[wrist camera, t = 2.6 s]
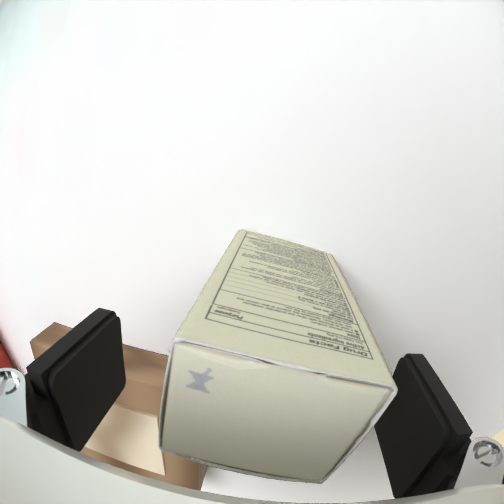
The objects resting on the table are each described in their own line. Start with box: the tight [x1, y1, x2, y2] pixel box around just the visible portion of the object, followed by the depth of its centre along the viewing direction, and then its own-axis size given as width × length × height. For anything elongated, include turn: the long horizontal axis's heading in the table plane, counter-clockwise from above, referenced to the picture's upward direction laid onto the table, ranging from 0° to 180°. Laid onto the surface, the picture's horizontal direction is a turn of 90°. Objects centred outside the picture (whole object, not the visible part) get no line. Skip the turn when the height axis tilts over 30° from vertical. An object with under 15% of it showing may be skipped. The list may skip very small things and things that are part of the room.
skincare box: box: [158, 230, 398, 484], centre depth 11 cm, size 5×4×10 cm
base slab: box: [30, 322, 207, 491], centre depth 18 cm, size 12×12×3 cm
